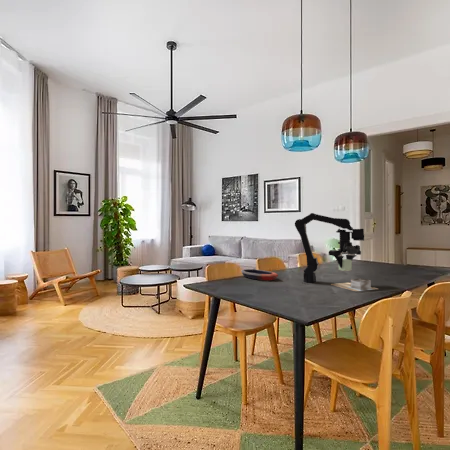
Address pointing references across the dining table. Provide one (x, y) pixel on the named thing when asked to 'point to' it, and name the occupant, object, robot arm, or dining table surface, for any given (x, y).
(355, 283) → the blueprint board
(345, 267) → the sage block
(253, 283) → the dining table surface
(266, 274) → the dish
